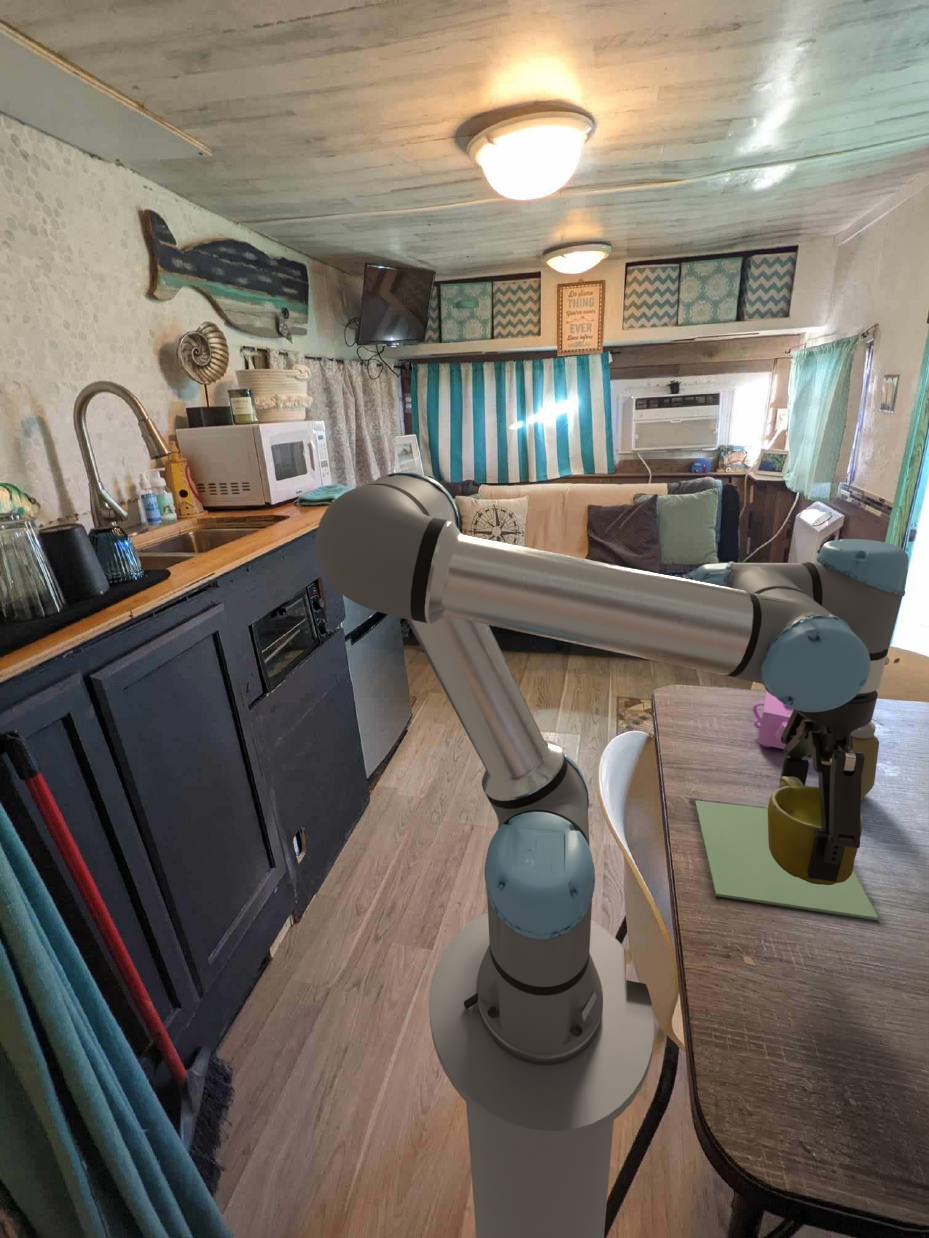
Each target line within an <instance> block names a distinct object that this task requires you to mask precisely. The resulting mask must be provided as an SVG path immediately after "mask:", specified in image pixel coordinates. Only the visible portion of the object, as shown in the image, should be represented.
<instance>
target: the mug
mask: <svg viewBox="0 0 929 1238" xmlns="http://www.w3.org/2000/svg"><path fill="white" fill-rule="evenodd" d="M779 785H780V786H778V788H777V789H775V790H774V791H773V792H772V793H771V795H770V797H769V801H768V806H767V809H768V842H769V849H770V852H771V854H772V857H773V858H774V860H775V861H776V862H777V864H778V865H779V866H780V867H781V868H782V869H783V870H784V871H786V872H787V873H789V874H790V875H792V876H794V877H798V878H800V879H803V880H805V881H807V882H810V883H812V884H824V885H833V884H836V883H841V882H844V881H846V880H847V879H848V878H849V877H850V876H851V874H852V872H853V871H854V867H855V860H856V856H857V854H858V849H859V848H851V847H845V849H844V853H843V857H842V861H841V865H840V869H839V873H838V877H837V881H836V882H832V881H826V880H819V879H812V878H809V877H808V874H807V871H808V866H809V862H810V857H811V853H812V848H813V844H814V839H815V833H814V830H817V828H822V827H821V811H820V795H819V786H813V785H812V786H811V785H805V786H803V784H802V782H801V781H800V780H799V779H798V778H797V777H792V776H790V777H784V776H783V777H781V776H780V778H779ZM779 787H780V788H779ZM863 822H864V821H863V816H862V814H861V824H860V838H861V837H862V832H863V826H864V824H863Z"/></svg>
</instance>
